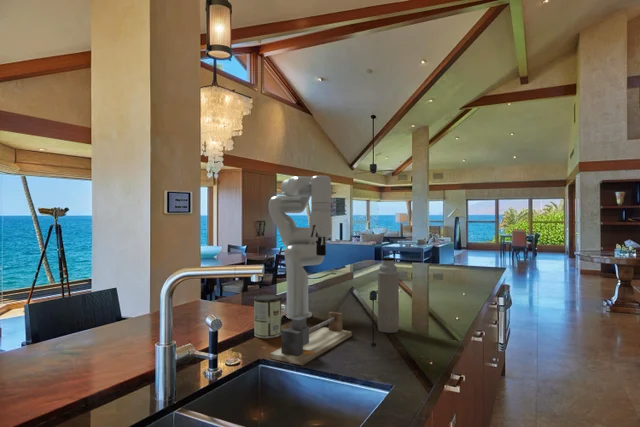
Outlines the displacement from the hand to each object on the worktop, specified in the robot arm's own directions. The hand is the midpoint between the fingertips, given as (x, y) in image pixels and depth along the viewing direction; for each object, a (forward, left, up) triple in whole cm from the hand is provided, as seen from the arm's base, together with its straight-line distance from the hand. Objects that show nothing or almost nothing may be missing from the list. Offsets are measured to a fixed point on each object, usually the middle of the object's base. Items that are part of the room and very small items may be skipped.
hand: (321, 255), depth 154 cm
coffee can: (-15, -14, -29) cm, 36 cm away
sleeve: (+7, -26, -25) cm, 37 cm away
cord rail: (+7, -17, -29) cm, 34 cm away
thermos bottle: (+22, +14, -29) cm, 39 cm away
